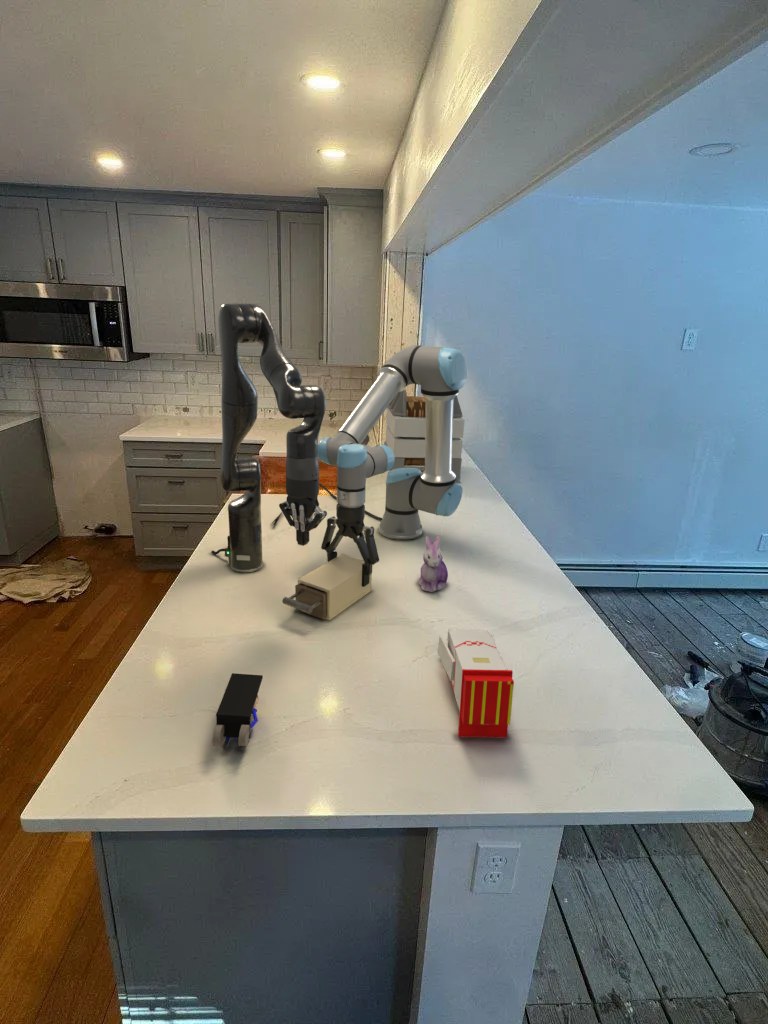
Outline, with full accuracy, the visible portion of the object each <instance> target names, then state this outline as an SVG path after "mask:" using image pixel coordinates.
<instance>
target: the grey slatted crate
mask: <svg viewBox="0 0 768 1024" xmlns="http://www.w3.org/2000/svg"><path fill="white" fill-rule="evenodd" d="M407 394H408V393H407V390H406V389H404V390H403V391H402V392H398V393H397V394H396V396H395V397H394V399H393V400H392V401H391V403H390V404H389V406H388V407H387V408H386V413H385V414H386V415H385V423H386V428H385V438H384V442H383V445H386V446H388V447H389V448H390V449H391V450H392V451H393V453H394V457H395V461H394V465H393V467H392V468H391V469H390V470H389V471H391V470H394V469H398V468H405V466H406V467H407V466H411V467H412V466H413V467H415V466H416V467H417V466H418V467H425V415H426V398H425V397H424V396H415V395H414V396H413V395H412V396H411V395H407ZM464 429H465V419H464V418H463V411H462V408H461V405H460V402H459V398H458V395H457V396H455V397H454V401H453V433H452V466H451V470H452V472H454V473H455V475H456V483H459V484H460V483H461V472H462V461H463V460H462V453H463V442H464V441H463V440H462V439H463V438H464V431H465V430H464Z"/></svg>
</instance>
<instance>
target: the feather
mask: <svg viewBox="0 0 768 1024" xmlns="http://www.w3.org/2000/svg"><path fill="white" fill-rule="evenodd" d="M282 514H283V512H280V514H279V515H278V516H277V517H275V519H274V520H273V521H272V522H271V524H270V526H272V525H273V529H274V528H275V526H276V524H277V523H278V521H279V520H280V518H281V516H282Z"/></svg>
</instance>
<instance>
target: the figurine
mask: <svg viewBox="0 0 768 1024" xmlns="http://www.w3.org/2000/svg"><path fill="white" fill-rule="evenodd" d="M424 540H425V551H424V553H423V556H422V559H423V562H424V563H423V564H422V565H421V566H420V578H419V581H418V583H419V586H420V587H421V590H422V591H425V592H431V593H432V592H434V593H435V592H436V591H442V590H443V589H444V588H445V587H446V586H447V582H448V578H449V571H448V567H447V565H446V563H445V562H444V560H443V558H444V557H443V554H442V552H441V551H442V550H441V549H440V545H441V540H442V538H441V535H437V536H436V537H435V539H434V540H433V542H432V540H431V538H430V536H428V535H427V536H425V539H424Z"/></svg>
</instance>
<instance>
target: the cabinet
mask: <svg viewBox="0 0 768 1024" xmlns="http://www.w3.org/2000/svg"><path fill="white" fill-rule="evenodd" d="M364 563H365V562H364V560H363V559H360V558H356V557H353V556H350V555H346V554H343V553H341V554H340V555H337V557H336V558H334V559H332V560H331V561H329V562H327V561H326V562H325V563H324V564H322V565H320V566H318V567H317V568H315V569H313V570H311V571H309V572H308V573H306V574H305V575H303V576H301V577H298V579H297V584H300V585H303V586H304V584H305V585H308V586H311V587H313V588H316V589H319V590H322V591H325V592H327V613H326V618H325V619H324V620H327V621H331V620H332V619H334V618H336V616H338V615H339V614H341V613H342V612H344V611H345V610H347V609H348V608H349V607H351V606H352V605H353V604H355V603H356V602H357V601H358V602H359V600H361V599H362V598H363V597H365V596H366V595H367V594H369V593H370V592H372V581H373V580H372V578H373V577H372V575H373V574H371V575H370V579H369V584H368V585H366V586H365V587H363V586H362V564H364Z"/></svg>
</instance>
